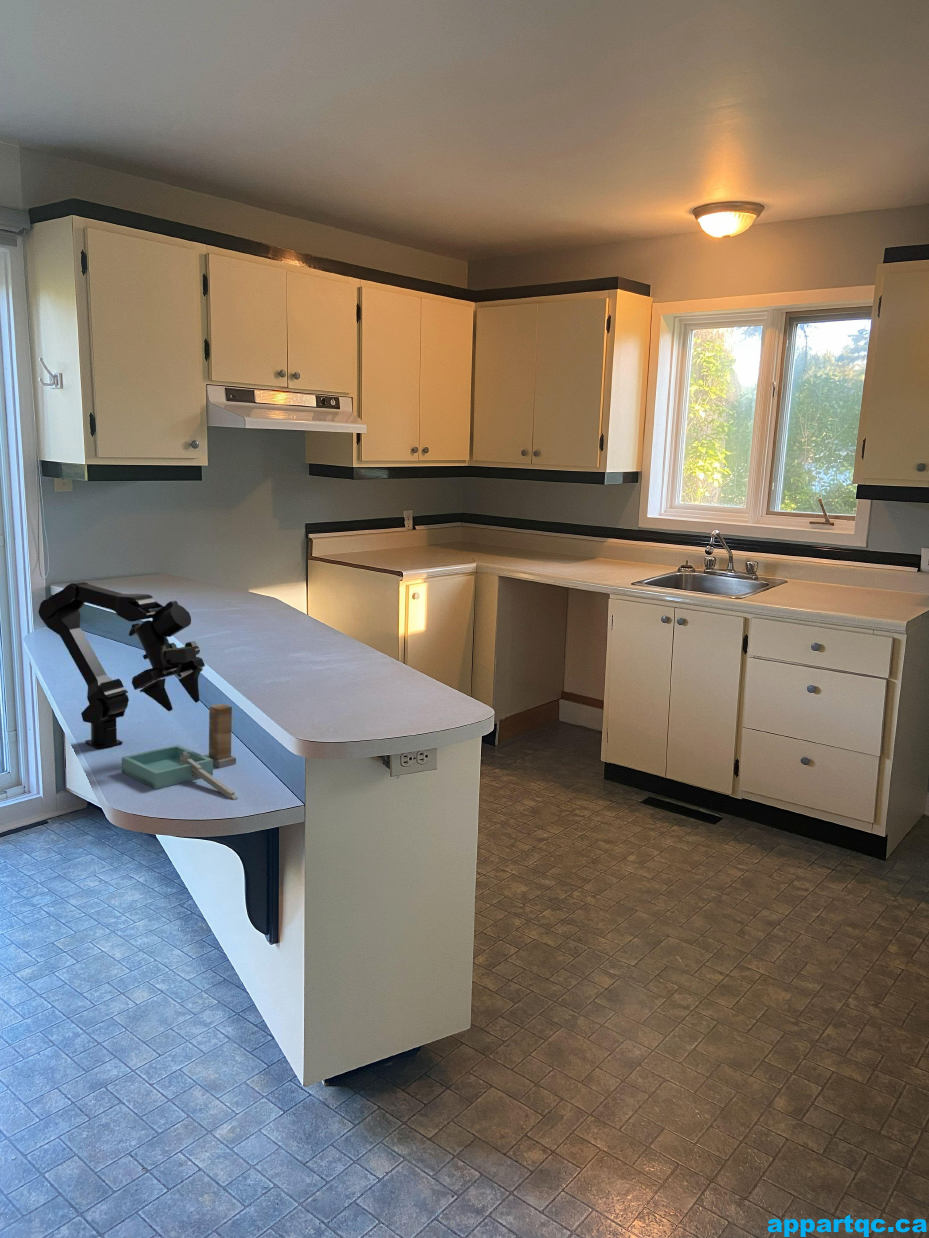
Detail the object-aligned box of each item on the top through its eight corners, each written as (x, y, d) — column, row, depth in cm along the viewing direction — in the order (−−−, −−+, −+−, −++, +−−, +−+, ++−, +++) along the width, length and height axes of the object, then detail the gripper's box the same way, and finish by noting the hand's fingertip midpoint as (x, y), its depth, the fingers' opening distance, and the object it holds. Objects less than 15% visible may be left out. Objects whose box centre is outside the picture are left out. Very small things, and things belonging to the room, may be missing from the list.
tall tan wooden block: (203, 761, 207) (204, 705, 205) (219, 757, 210) (220, 702, 208) (219, 767, 203) (220, 711, 201) (235, 763, 206) (236, 707, 204)
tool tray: (121, 772, 197) (121, 757, 196) (177, 759, 207) (177, 744, 207) (156, 789, 188) (156, 773, 187) (212, 774, 198) (213, 759, 198)
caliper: (179, 777, 197) (178, 750, 196) (183, 776, 198) (183, 749, 197) (234, 801, 185) (234, 772, 184) (238, 799, 185) (238, 771, 184)
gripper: (151, 636, 193) (181, 701, 192) (206, 625, 210) (234, 684, 209) (117, 657, 198) (146, 720, 197) (174, 644, 215) (201, 702, 214)
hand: (184, 706), depth 204 cm, fingers open, 9 cm apart
